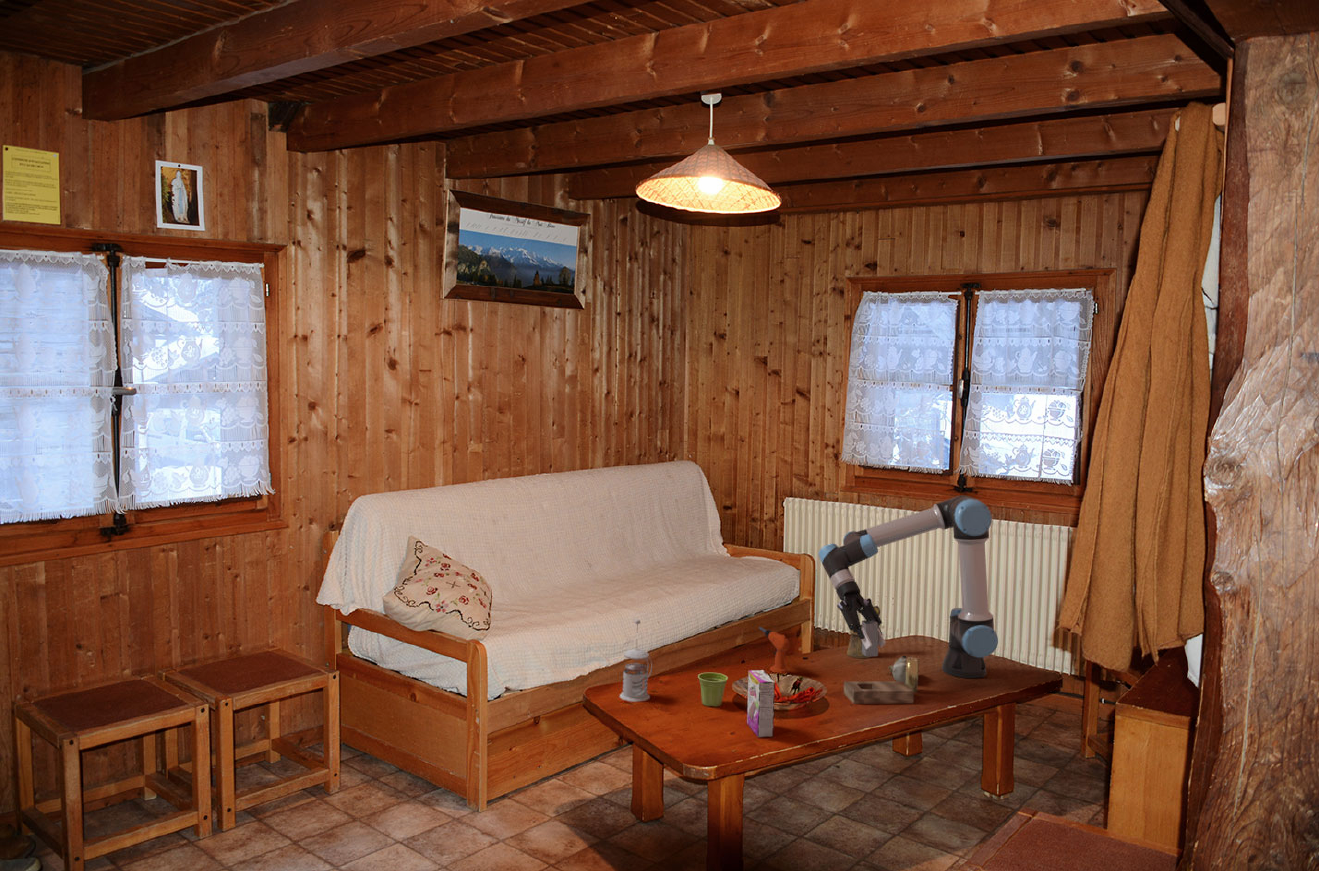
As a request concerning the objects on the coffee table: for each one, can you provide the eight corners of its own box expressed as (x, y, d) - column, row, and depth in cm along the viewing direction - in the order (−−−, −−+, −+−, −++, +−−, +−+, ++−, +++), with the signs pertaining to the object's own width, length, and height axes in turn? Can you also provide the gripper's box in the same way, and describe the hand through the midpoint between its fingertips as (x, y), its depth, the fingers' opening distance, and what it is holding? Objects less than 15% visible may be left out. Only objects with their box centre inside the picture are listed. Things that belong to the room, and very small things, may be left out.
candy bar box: (745, 723, 287) (747, 669, 286) (761, 723, 288) (763, 669, 287) (757, 737, 276) (759, 681, 275) (773, 737, 277) (776, 681, 276)
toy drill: (761, 656, 352) (765, 619, 349) (790, 677, 336) (795, 638, 334) (750, 658, 350) (755, 620, 347) (779, 678, 334) (784, 639, 332)
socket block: (901, 692, 321) (902, 681, 321) (913, 703, 311) (913, 690, 311) (843, 693, 319) (844, 681, 318) (853, 703, 309) (854, 691, 308)
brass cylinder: (914, 688, 326) (916, 656, 325) (918, 692, 322) (920, 660, 321) (902, 688, 325) (904, 656, 325) (907, 692, 321) (909, 660, 321)
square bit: (873, 652, 321) (873, 620, 320) (877, 655, 317) (877, 623, 317) (861, 652, 321) (861, 620, 320) (866, 656, 317) (865, 623, 316)
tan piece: (884, 654, 365) (886, 608, 364) (859, 659, 357) (861, 612, 356) (867, 648, 372) (869, 603, 371) (842, 653, 365) (844, 606, 364)
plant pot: (710, 696, 310) (711, 670, 310) (732, 704, 304) (733, 677, 303) (690, 702, 304) (691, 675, 303) (712, 711, 297) (713, 683, 297)
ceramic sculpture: (888, 658, 330) (889, 649, 345) (886, 683, 330) (888, 673, 345) (920, 661, 328) (920, 652, 342) (918, 687, 328) (918, 676, 342)
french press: (613, 695, 308) (615, 618, 306) (638, 687, 316) (641, 613, 315) (635, 703, 301) (637, 625, 300) (660, 695, 310) (663, 619, 308)
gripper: (860, 589, 336) (890, 648, 323) (819, 593, 327) (849, 654, 314) (871, 578, 331) (903, 637, 318) (830, 581, 322) (861, 643, 309)
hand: (876, 645), depth 316 cm, fingers closed on square bit, 5 cm apart
